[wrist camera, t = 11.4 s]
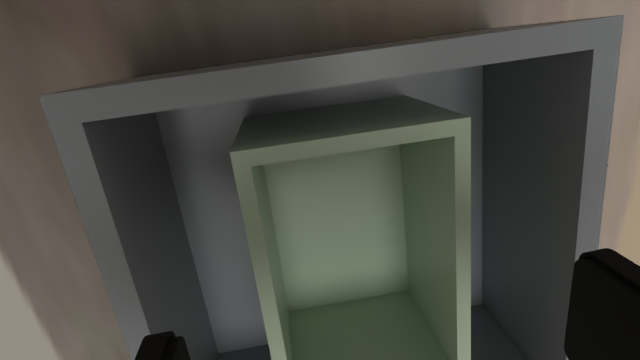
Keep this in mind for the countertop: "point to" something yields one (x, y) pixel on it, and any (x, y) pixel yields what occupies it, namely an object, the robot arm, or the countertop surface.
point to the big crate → (333, 89)
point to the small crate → (360, 229)
